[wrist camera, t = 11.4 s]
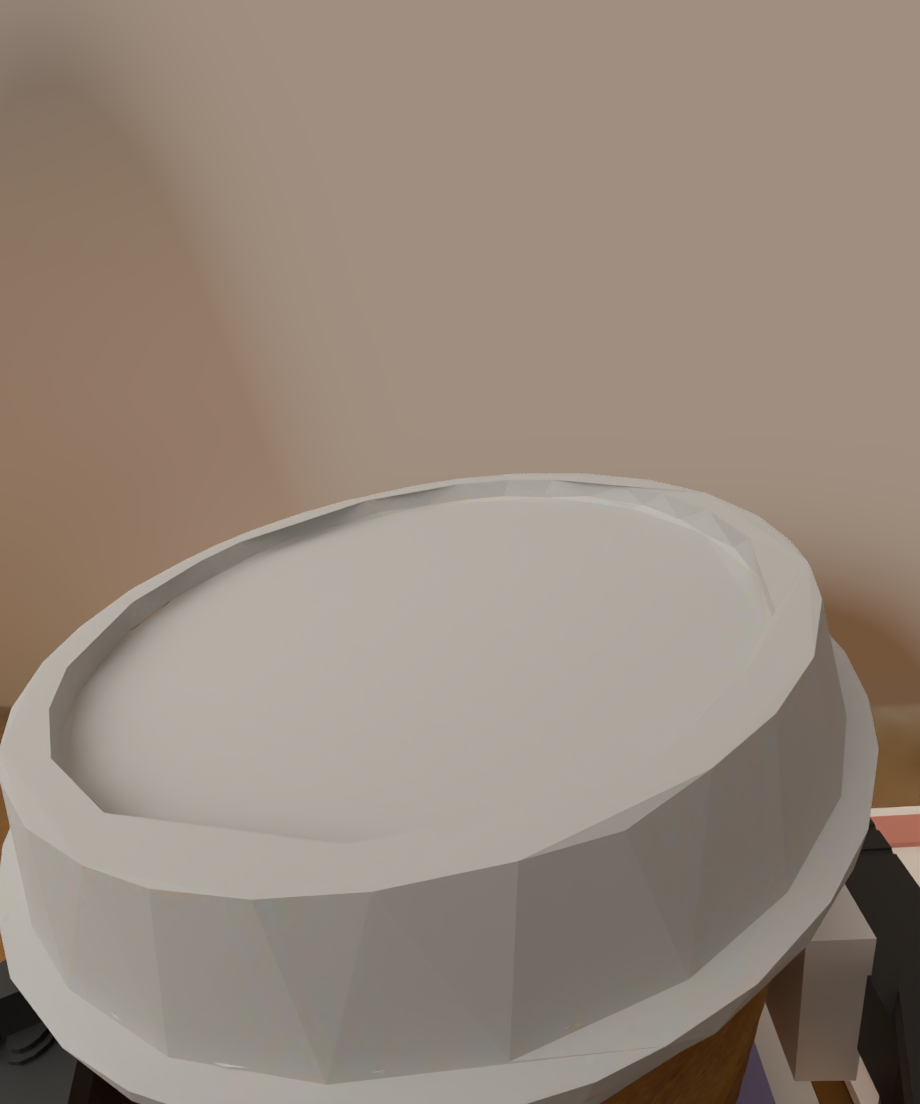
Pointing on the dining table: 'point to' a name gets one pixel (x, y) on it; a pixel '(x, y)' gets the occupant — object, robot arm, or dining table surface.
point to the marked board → (916, 843)
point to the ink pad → (771, 1072)
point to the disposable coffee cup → (438, 803)
